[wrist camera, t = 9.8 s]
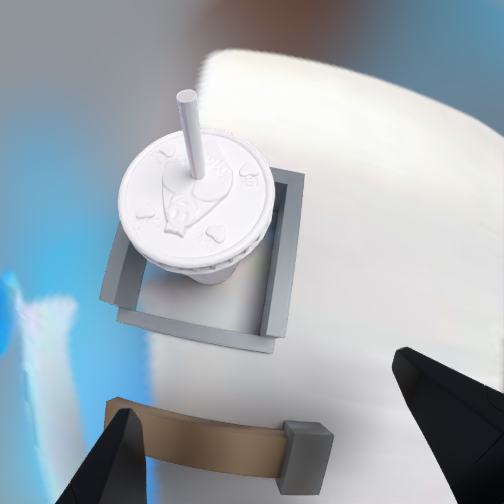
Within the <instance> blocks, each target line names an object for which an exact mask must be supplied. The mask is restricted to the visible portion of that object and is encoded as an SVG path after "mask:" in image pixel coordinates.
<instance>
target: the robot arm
mask: <svg viewBox="0 0 504 504" xmlns="http://www.w3.org/2000/svg"><path fill="white" fill-rule="evenodd" d="M392 371H393V374H394V376H395V378H396V380H397V383H398V385H399V387H400V390H401V392H402V395H403V397H404V399H405V402H406V404H407V406H408V408H409V410H410V411H411V413H412V415H413V417H414V419H415V420H416V422H417V424H418V426H419V428H420V430H421V431H422V433H423V435H424V437H425V439H426V441H427V443H428V445H429V446H430V448H431V450H432V452H433V454H434V456H435V458H436V460H437V462H438V464H439V466H440V468H441V470H442V472H443V474H444V476H445V478H446V480H447V482H448V484H449V486H450V488H451V490H452V492H453V495H454V497H455V499H456V501H457V503H458V504H504V393H501V392H499V391H497V390H495V389H492V388H490V387H488V386H486V385H485V386H484V384H482V383H480V382H478V381H476V380H474V379H472V378H470V377H468V376H466V375H464V374H462V373H459V372H457V371H455V370H453V369H451V368H449V367H447V366H445V365H443V364H441V363H439V362H437V361H435V360H433V359H431V358H429V357H427V356H425V355H423V354H421V353H419V352H417V351H415V350H413V349H411V348H409V347H403V348H400V349H398V350H397V351H396V352H395V355H394V359H393V363H392ZM55 504H147V495H146V458H145V449H144V439H143V427H142V423H141V420H140V419H139V418H138V416H137V415H136V413H135V412H134V410H133V409H132V408H130V407H128V408H120V409H119V410H118V411H117V412H116V414H115V415H114V417H113V418H112V420H111V421H110V423H109V424H108V426H107V427H106V429H105V430H104V432H103V433H102V435H101V436H100V437H99V439H98V440H97V442H96V443H95V445H94V446H93V448H92V449H91V451H90V452H89V454H88V455H87V457H86V458H85V460H84V461H83V463H82V464H81V466H80V467H79V469H78V470H77V472H76V473H75V475H74V477H73V478H72V480H71V481H70V483H69V484H68V486H67V487H66V489H65V490H64V492H63V493H62V494H61V496H60V497H59V499H58V500H57V502H56V503H55Z"/></svg>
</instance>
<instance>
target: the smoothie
mask: <svg viewBox="0 0 504 504" xmlns="http://www.w3.org/2000/svg"><path fill="white" fill-rule="evenodd" d="M177 103H178V109H179V114H180V120H181V125H182V130H181V131H177V132H174V133H171V134H169V135H166V136H164V137H162V138H160V139H158V140H156V141H155V142H153V143H152V144H150V145H149V146H148V147H146V148H145V149H144V150H143V151H142V152H141V153H140V154H139V155H138V156H137V157H136V158H135V159H134V161H133V162H132V163H131V164H130V166H129V168H128V169H127V171H126V173H125V175H124V177H123V180H122V183H121V186H120V189H119V195H118V211H119V217H120V220H121V224H122V226H123V229H124V231H125V232H126V234H127V236H128V237H129V239H130V240H131V242H132V244H133V245H134V247H135V249H136V250H137V251H138V252H139V253H140V254H141V255H143V256H144V257H145V258H146V259H147V260H148V261H149V262H151V263H153V264H154V265H156V266H158V267H160V268H162V269H164V270H166V271H170V272H175V273H180V274H185V275H187V276H189V277H190V278H192V279H194V280H195V281H197V282H199V283H202V284H208V285H212V284H218V283H220V282H223V281H224V280H226V279H227V278H228V277H229V276H230V275H231V274H232V273H233V271H234V270H235V268H236V266H237V265H238V263H239V261H240V260H241V259H243V258H244V257H246V256H247V255H249V254H250V253H251V252H252V250H253V249H254V248H255V247H256V246H257V245H258V244H259V242H260V241H261V240H262V239H263V237H264V235H265V233H266V231H267V229H268V227H269V224H270V222H271V219H272V213H273V206H274V200H275V186H274V180H273V176H272V173H271V170H270V168H269V166H268V164H267V162H266V161H265V159H264V158H263V156H262V155H261V154H260V153H259V151H258V150H257V149H256V148H255V147H253V146H252V145H251V144H250V143H248V142H247V141H246V140H244V139H242V138H240V137H238V136H236V135H234V134H232V133H229V132H226V131H222V130H217V129H210V128H200V123H199V114H198V105H197V96H196V92H195V91H193V90H183V91H181V92H179V93H178V95H177Z"/></svg>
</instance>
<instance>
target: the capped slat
mask: <svg viewBox="0 0 504 504" xmlns="http://www.w3.org/2000/svg"><path fill="white" fill-rule="evenodd" d="M128 407H130V408H132V409H133V410H134V412H135V413H136V415H137V416H138V418H139V419H140V420H141V423H142V427H143V439H144V449H145V456H148V457H151V458H155V459H159V460H163V461H167V462H171V463H175V464H179V465H184V466H189V467H193V468H199V469H204V470H210V471H216V472H222V473H229V474H237V475H245V476H255V477H267V478H275V480H276V483H277V486H278V488H279V491H280V494H281V495H319V493H320V490H321V486H322V482H323V479H324V475H325V471H326V467H327V464H328V460H329V455H330V451H331V447H332V443H333V438H334V435H333V434H332V433H331V432H330V431H329V430H327V429H326V428H325V427H324V426H322V425H321V424H320V423H317V422H299V421H286V420H285V423H284V428H283V430H281V429H270V428H260V427H252V426H244V425H237V424H230V423H224V422H218V421H212V420H207V419H202V418H197V417H192V416H187V415H183V414H178V413H174V412H170V411H166V410H162V409H158V408H154V407H150V406H147V405H143V404H139V403H135V402H133V401H129V400H126V399H123V398H120V397H116V398H113V399H112V400H109V401H106V410H105V421H104V430H105V429H106V427H107V426H108V424H109V423H110V421H111V420H112V418H113V417H114V415H115V414H116V412H117V411H118V410H119V409H120V408H128Z"/></svg>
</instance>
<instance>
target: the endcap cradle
mask: <svg viewBox="0 0 504 504" xmlns="http://www.w3.org/2000/svg"><path fill="white" fill-rule="evenodd" d="M269 168H270V170H271V173H272V176H273V180H274V186H275V200H274V206H273V210H274V211H278V215H277V222H276V229H275V236H274V243H273V250H272V256H271V263H270V270H269V276H268V283H267V289H266V296H265V302H264V309H263V315H262V321H261V328H260V334H259V336H257V335H251V334H245V333H239V332H233V331H227V330H222V329H216V328H211V327H206V326H201V325H196V324H191V323H186V322H181V321H177V320H172V319H167V318H163V317H158V316H154V315H150V314H146V313H141V312H137V311H135V310H136V305H137V300H138V296H139V291H140V287H141V282H142V278H143V274H144V270H145V266H146V262H147V259H146V258H145V257H144V256H143V255H141V254H140V253H139V252H138V251H137V250H136V249H135V247H134V245H133V244H132V242H131V240H130V239H129V237H128V236H127V234H126V232H125V231H124V229H123V226H122V224H121V220H120V223H119V226H118V229H117V233H116V236H115V239H114V243H113V246H112V250H111V253H110V257H109V260H108V264H107V268H106V271H105V275H104V279H103V283H102V288H101V292H100V296H99V300H102V301H104V302H107V303H110V304H113V305H115V306H118V307H119V310H118V315H117V320H116V321H117V322H120V323H124V324H128V325H132V326H136V327H140V328H144V329H148V330H152V331H156V332H160V333H164V334H169V335H173V336H178V337H182V338H187V339H192V340H197V341H202V342H207V343H212V344H218V345H223V346H229V347H234V348H240V349H247V350H253V351H259V352H266V353H273V351H274V344H275V338H284V337H285V334H286V327H287V320H288V313H289V306H290V299H291V292H292V284H293V276H294V269H295V261H296V252H297V244H298V235H299V226H300V217H301V208H302V198H303V188H304V177H305V174H302V173H297V172H292V171H287V170H282V169H277V168H272V167H269Z"/></svg>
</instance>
